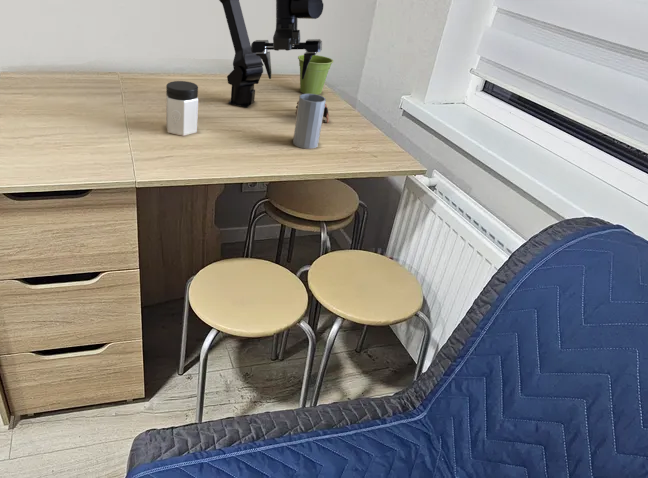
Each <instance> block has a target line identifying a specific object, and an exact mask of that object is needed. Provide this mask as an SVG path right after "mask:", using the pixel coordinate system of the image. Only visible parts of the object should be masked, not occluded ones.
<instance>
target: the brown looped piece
mask: <svg viewBox="0 0 648 478" xmlns="http://www.w3.org/2000/svg"><path fill="white" fill-rule="evenodd" d="M298 102H299V100H298V101H297V102H296V106H295V108H296V110H295V117H296V116H297V109H298ZM323 118H325V119H326V120H325V122H326V123H329V122H330V119H329V107H328V106H327V103H325V108H324V114H323Z"/></svg>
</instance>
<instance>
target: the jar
mask: <svg viewBox="0 0 648 478" xmlns="http://www.w3.org/2000/svg"><path fill="white" fill-rule="evenodd" d="M198 96H199V85H197V84H196V83H194V82H191V81H186V80H174V81H169V82H168V83H167V84H166V92H165V127H166V131H167V133H168V134H172V135H177V136H183V137H185V136H189V135H193V134H196V133H198V120H199V119H198V116H199V115H198V114H199V97H198Z"/></svg>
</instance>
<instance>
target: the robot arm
mask: <svg viewBox="0 0 648 478" xmlns="http://www.w3.org/2000/svg"><path fill="white" fill-rule="evenodd" d="M218 2H220V3H221V5H222V7H223V11H224V16H225V19H226V23H227V26H228V31H229V35H230V38H231V42H232V46H233V49H234V53H235V54H234V57H233V61H232V65H233V69H232V71H231V72H229V74H228V75H227V76H226V79H227V84H228V85H230V86H231V90H230V100H229V101H228V102H227V104H228V105H233V106H236V107H242V108H246V109H247V108H249V107H251V106H252V105H253V104H254V103H255V102H256V101H255V98H256V97H255V96H256V89H255V85H258V84H259V83H260V80H261V77H262V76H263V73H264V68H265V71H266V74H267V76H268V79H269V80H271V79H272V61H271V60H272V59H271V50H273V51H277V52H278V51H292V50H293V51H294V50H304V51H305V52H304V53H303V55H304V62H303V69H302V79H304V76H305V73H306V70H307V67H308V64H309V62H310V60H311V58H312V56H314V55H318V53H321V52H322V50H323V41H322V40H321V38H318V39H317V38H314V39H313V38H312V39H311V38H309V39H308V38H307V39H306V40H305V41H304V42H303V41H301V30H300V29H298V22H299V21H298V20H299V19H300V20H301V19H304V20H305V19H306V20H309V19H311V20H316V19H318V18H321V16H322V14H323V11H324V2H323V0H275V30H274V34H273V37H272V42H270V41H269V39H256V40H254V41H252V43H251V41H250V38H249V34H248V30H247V29H248V28H247V25H246V23H245V18H244V13H243V11H242V6H241V3H240V0H218Z"/></svg>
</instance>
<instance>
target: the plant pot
mask: <svg viewBox="0 0 648 478" xmlns="http://www.w3.org/2000/svg"><path fill="white" fill-rule="evenodd" d="M297 60H298V66H299V92H301V94H316V95H321V94H322V92H323V89H324V86H325V83H326V79H327V76H328V74H329V71H330V69H331V66H332V64H333V63H334V60H333V59H332V58H330V57H328V56H323V55H319V54H316V55H314V56H312V58H311V60H310V62H309V64H308V67H307V70H306V73H305V76H304V79H302V69H303V62H304V54H301V55H298V56H297Z"/></svg>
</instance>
